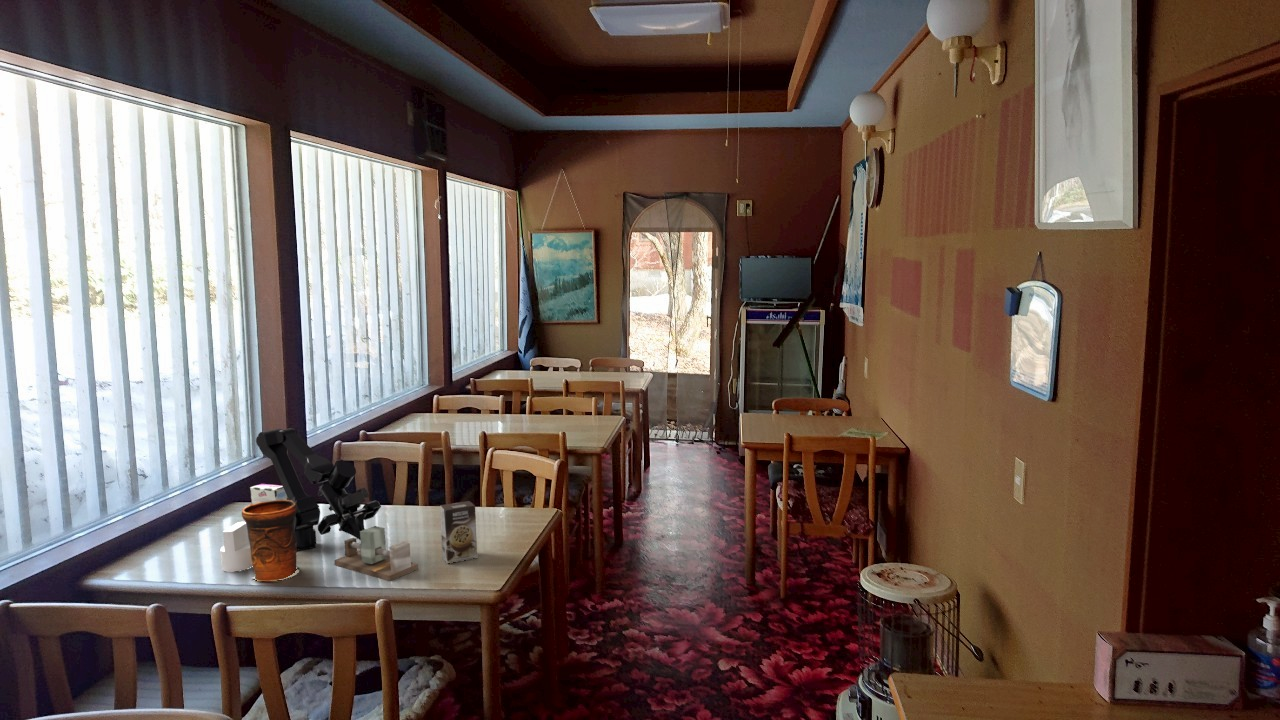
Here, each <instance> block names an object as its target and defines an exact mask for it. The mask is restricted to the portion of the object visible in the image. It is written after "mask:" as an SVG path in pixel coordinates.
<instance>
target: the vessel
mask: <svg viewBox="0 0 1280 720" xmlns="http://www.w3.org/2000/svg"><path fill="white" fill-rule="evenodd" d="M296 513H297V505H296V503H295V502H293V501H290V500H289V499H288V500H274V501H268V502H260V503H256V504H249V505H247V506H245V507H244V508H243V509H242V510H241V517H242V519H243V521H244V522H246V524H247V530H248V539H249V543H250V549H251V563H252V565H253V567H252V568H253V571H254V572H253V574H254V573H255V574H254V575H256V576H255V580H257V581H256V582H277V581H276V580H279V579H284V578H286V577H288V576H290V575H292V574H293V573H295V571H296V570H297V569H296V567H297V553H298V550H297V541H296V537H295V531H294V520H295V515H296ZM255 580H254V581H255Z"/></svg>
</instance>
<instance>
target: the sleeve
mask: <svg viewBox="0 0 1280 720" xmlns="http://www.w3.org/2000/svg"><path fill="white" fill-rule="evenodd" d="M359 540H360V544H361V549H360V550H361V554H362V562H365V563H368V564H373V563H376V562H378V561H381V560H383V559H386V558H387V557H386V556H383V555H379V554H376V553H375V548H380V549H383V550H387V546H386V545H387V544H386V543H387V542H386V530H385V528H384V527H381V526H377V525H374V526H371V527H368V528H366V529H365V530H362V531H360V539H359Z"/></svg>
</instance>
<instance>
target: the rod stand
mask: <svg viewBox="0 0 1280 720" xmlns="http://www.w3.org/2000/svg"><path fill="white" fill-rule="evenodd" d="M410 544H411V543H410V542H407V541H404V540H403V541H401V542H398V543H396V544H394V545H391V546H389V548H388V549H389V550H387V549H386V550H383V549H380V548H375V553H376V554H379V555H383V556H386V557H387V558H386V559H383V560H381V561H378V562H376V563H373V564H368V563H365V562H362V554H361V542H357V538H356V537H351V538H348V539H346V540H344V553H345V555H344V556H342V557H339V558H336V559H334V560H333V562H334V564H333V565H334V566H336V567H341V568H343V569H348V570H350V571H354V572H356V573H361V574H364V575H368V576H371V577H375V578H378V579H381V580H385V581H388V582H391V581H394V580H396V579H398V578H401V577H402V576H406V575H407V574H410V573H412V572H415V571H418V570H419V564H418V563H416V562H412V561H411V545H410ZM414 570H415V571H414ZM409 572H410V573H409Z"/></svg>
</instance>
